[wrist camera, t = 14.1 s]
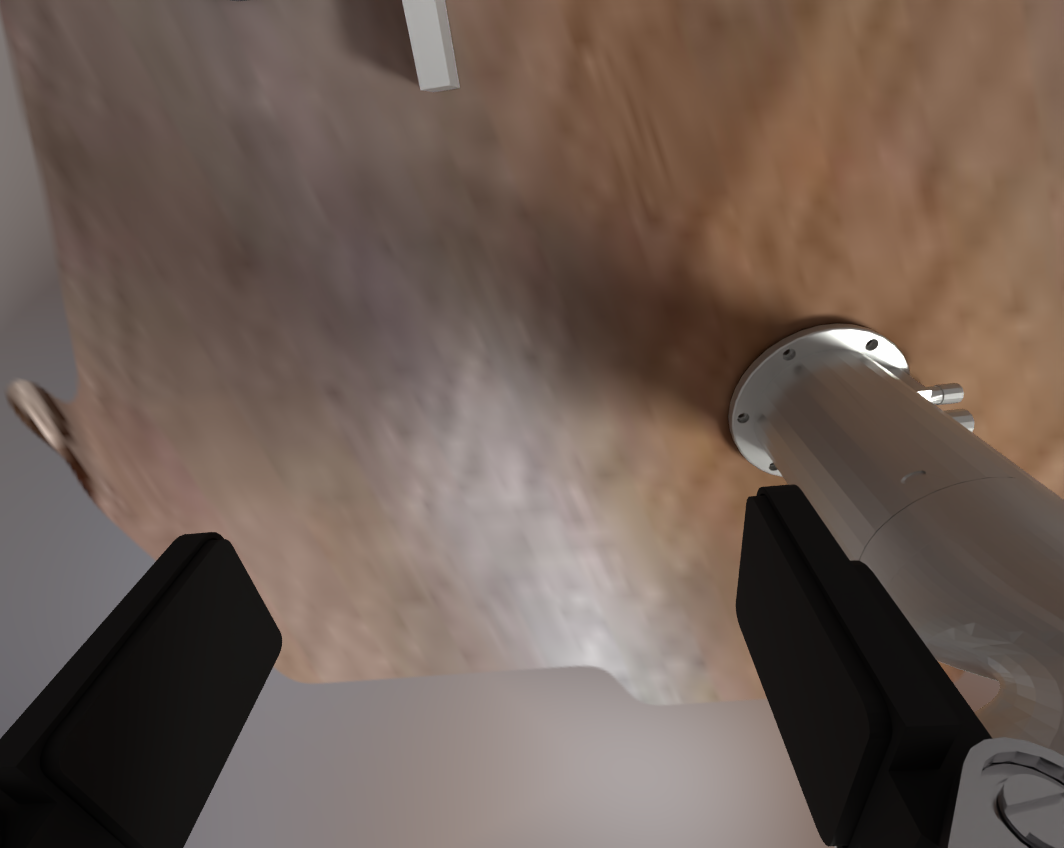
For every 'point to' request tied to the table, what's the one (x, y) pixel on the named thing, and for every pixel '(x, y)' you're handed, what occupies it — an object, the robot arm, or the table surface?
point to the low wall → (431, 44)
